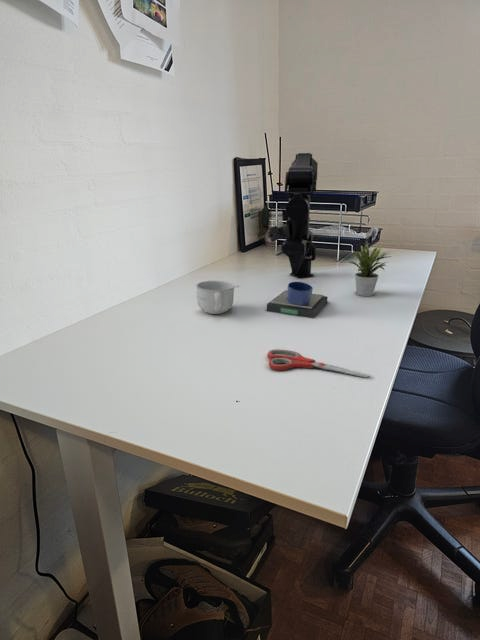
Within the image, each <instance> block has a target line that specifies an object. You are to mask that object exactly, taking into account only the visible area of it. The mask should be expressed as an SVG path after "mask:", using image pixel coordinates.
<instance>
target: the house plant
mask: <svg viewBox="0 0 480 640" xmlns="http://www.w3.org/2000/svg"><path fill="white" fill-rule="evenodd" d="M378 247H379V244H377V245H375V248H374V249H373V250H372V251H371V253H370V249H369V244H368V243H366V250H365V248H364V246H363V245H360V251H358V250H356V251H355V250H354V249H352V252H353V253H354V255H355V256H356V258H357V259H358V263H357V262H355V261H353V260H349V261H347V263H349V264H352V265H355V266H356V267H357V272H356V273H354V279H355V289H356V290H355V291H356V294H357V295H358V296H362V297H372V296H373V295H374V293H375V290H376V285H377V282H378V279H379V274H377V273H376V271H377V270H378V269H379V268H380V269H381V270H383V271H384V272H386V271H385V268H384V267H387V265H386V263H388V261H384V262H379V261H380V260H383V259H386V258H391V257H392V255H390V256H387V254H388V253H390V252H392V250H389V251H385V252H380V251H381V250H382V249H383V248H384V246H381V247H379V248H378Z"/></svg>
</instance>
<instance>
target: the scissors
mask: <svg viewBox="0 0 480 640" xmlns="http://www.w3.org/2000/svg"><path fill="white" fill-rule="evenodd" d="M266 356H267V358H268V359H269V361H268V366H269V368H271V369H272V370H275V371H284V370H289V369H293V368H302V369H303V368H304V369H313V368H318V369H320V370H326V371H331V372H335V373H341V374H346V375H350V376H355V377H360V378H369V377H370V376H369V375H367V374H366V373H365V374H364V373H361V372H359V371H354V370H352V369H347V368H343V367H339V366H335V365H331V364H329V363H324V362H319V361H316V359H312V358H310V357H306V356H303V355H301V354H300V353H299V352H297V351H293V350H288V349H281V348H280V349H279V348H278V349H277V348H276V349H270V350H269V351H268V352H267V354H266Z"/></svg>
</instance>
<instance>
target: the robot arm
mask: <svg viewBox="0 0 480 640" xmlns="http://www.w3.org/2000/svg"><path fill="white" fill-rule="evenodd" d="M318 167H319V166H318V161H316V160H315V159H314V158H313V153H311V152H300V153H299V152H298V153H296V154H295V159H294V160H293V161H292V162H291V165H290V166H289V167H288V171H285V178H284V179H285V180H284V190H283V191H284V192H283V194H284V196H289V198H288V202H287V204H286V206H285V213H286V216H287V217H288V219H287V220H286V221H285V224H282V225H279V226H277V225H274V226H271V227H269V230H268V231H267V234H268V235H267V238H269V240H270V242H271V243H274V242H276V241H277V240H281V239H284V238H285V240H284V241H283V242H282V243H281V248H280V249H281V251H280V252H282V253H283V254H284V255H285V256H287V257H288V261H289V264H290V270H291V272H290V273H289V275H290V276H293V277H295V278H297V279H302V278H308V277H309V278H310V277H313V276H314V274H313V273H312V262H314V261H316V255H317V254H316V253H317V252H316V251H317V248H316V247H315V244H314V243H313V240H314V238H313V237H314V234H313V232H312V231H311V230H310V222H311V218H310V210H311V209H310V208H311V207H310V206H311V197H310V196H314V193H315V192H317V180H318Z"/></svg>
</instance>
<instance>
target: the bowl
mask: <svg viewBox="0 0 480 640" xmlns="http://www.w3.org/2000/svg"><path fill="white" fill-rule="evenodd" d="M286 290H287V295H286V299H287V301H288V302H289V303H291V304H294V305H298V306H304V305H307V304H308V303H310V301H311V295H312V294H313V290H314V289H313V286H312V285H311V284H309V283H307V282H303V281H291V282H289V283H288V285H287V289H286Z"/></svg>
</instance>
